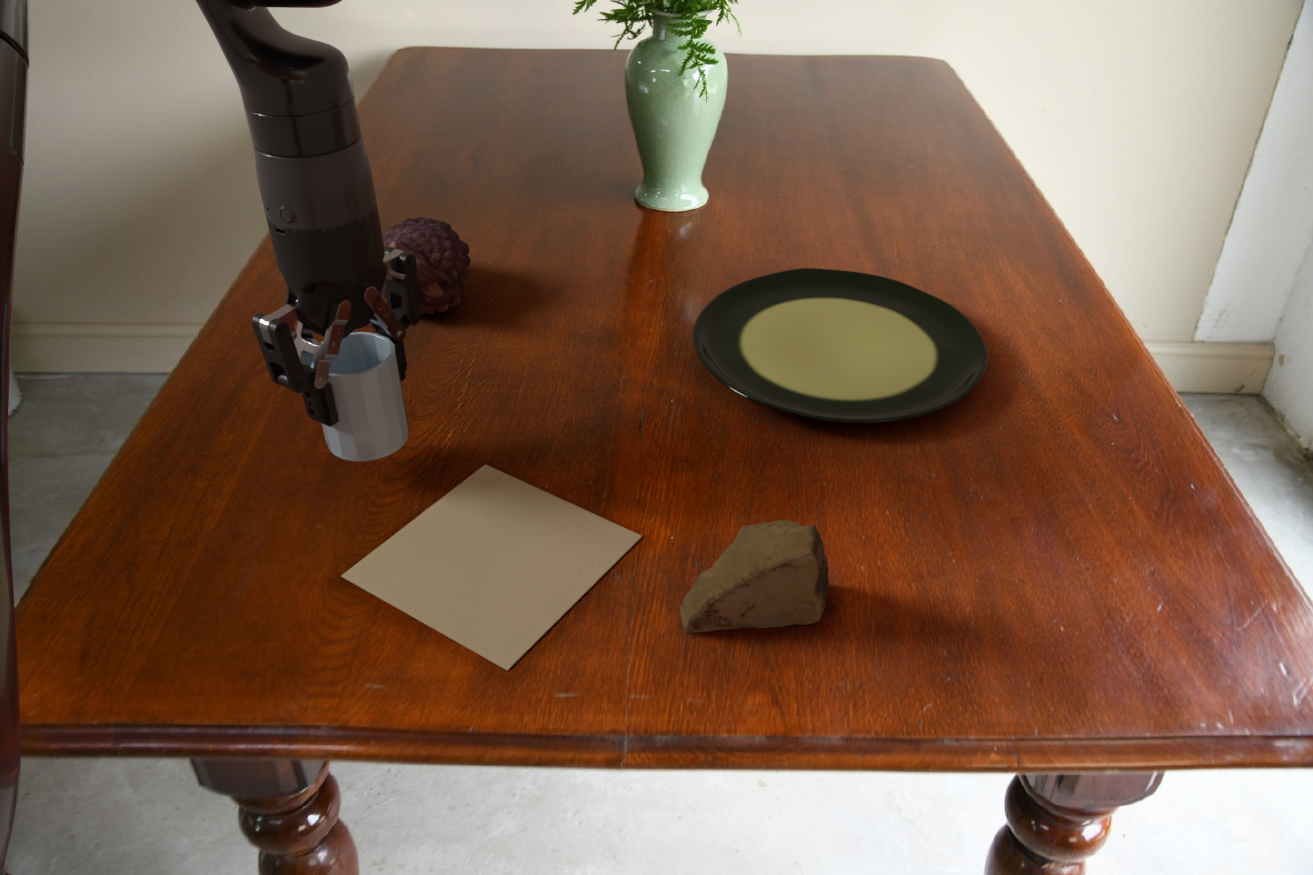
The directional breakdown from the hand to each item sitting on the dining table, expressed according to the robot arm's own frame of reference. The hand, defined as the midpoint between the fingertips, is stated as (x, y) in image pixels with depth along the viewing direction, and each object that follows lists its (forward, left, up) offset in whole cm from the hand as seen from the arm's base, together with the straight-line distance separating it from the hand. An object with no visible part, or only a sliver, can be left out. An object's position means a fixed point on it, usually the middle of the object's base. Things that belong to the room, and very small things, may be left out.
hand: (360, 399), depth 81 cm
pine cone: (+24, +17, -8) cm, 30 cm away
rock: (+4, -34, -8) cm, 35 cm away
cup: (0, 0, -4) cm, 4 cm away
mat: (-2, -15, -7) cm, 17 cm away
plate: (+38, -24, -8) cm, 45 cm away
